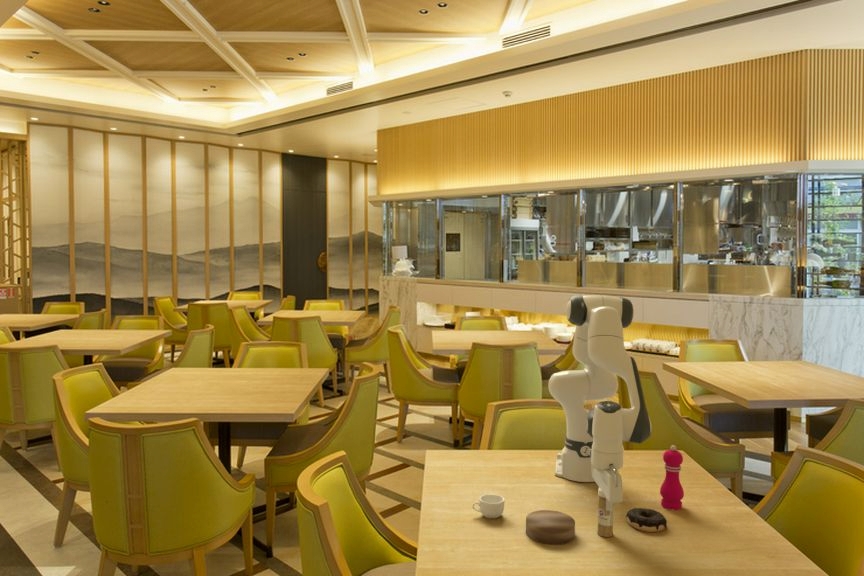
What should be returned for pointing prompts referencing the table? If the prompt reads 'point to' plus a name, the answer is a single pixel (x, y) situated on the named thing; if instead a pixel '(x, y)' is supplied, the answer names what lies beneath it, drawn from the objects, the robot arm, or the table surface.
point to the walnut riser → (550, 527)
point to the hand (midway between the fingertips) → (605, 505)
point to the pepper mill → (672, 480)
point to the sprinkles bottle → (604, 517)
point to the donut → (646, 520)
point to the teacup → (490, 505)
